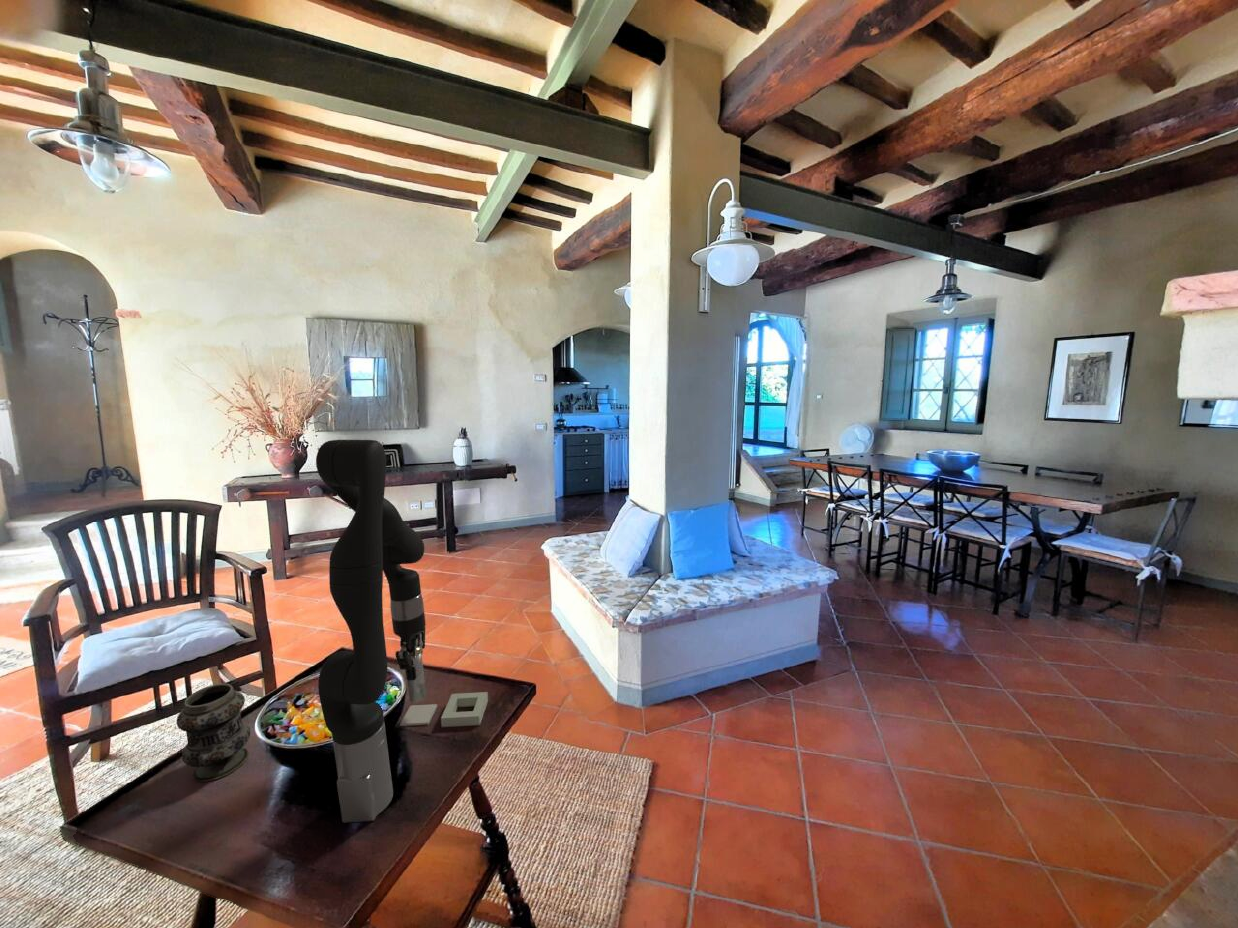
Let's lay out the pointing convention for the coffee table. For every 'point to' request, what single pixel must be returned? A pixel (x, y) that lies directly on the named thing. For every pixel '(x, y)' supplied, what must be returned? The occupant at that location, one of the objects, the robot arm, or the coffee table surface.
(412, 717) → the felt pad
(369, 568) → the robot arm
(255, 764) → the coffee table surface
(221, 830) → the coffee table surface
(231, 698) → the apothecary jar
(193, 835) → the coffee table surface
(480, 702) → the collar
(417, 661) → the steel pin
